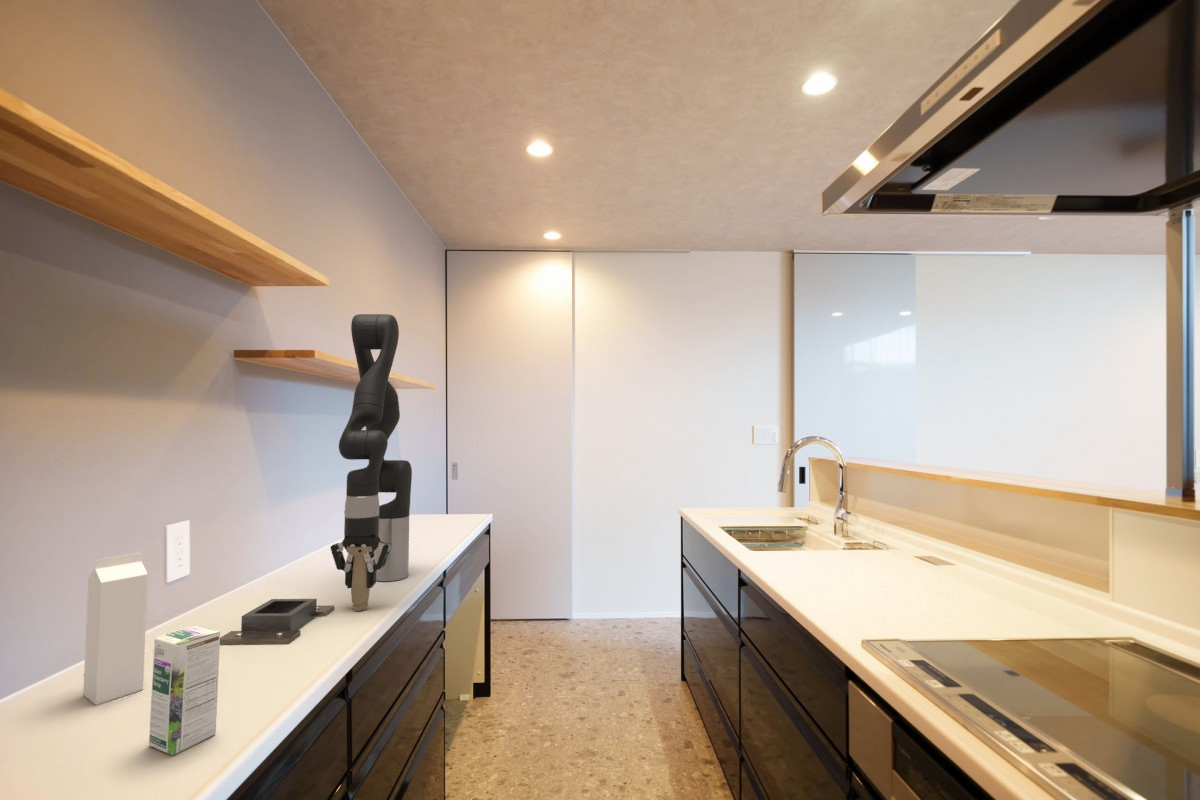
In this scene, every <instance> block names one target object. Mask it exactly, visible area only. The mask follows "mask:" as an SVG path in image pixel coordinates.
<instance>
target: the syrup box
mask: <svg viewBox="0 0 1200 800" xmlns="http://www.w3.org/2000/svg"><path fill="white" fill-rule="evenodd" d="M220 637H221V631H220V630H212V629H209V628H205V627H200V626H198V625H196V626H190V627H185V628H181V629H177V630H173V631H170V632H168V633H165V634H162V635H160V636H158V637H157V636H156V637H155V638H154V642H153V643H154V647H153V661H152V662H153V663H152V664H153V665H152V666H153V667H152V681H151V683H152V684H151V696H150V697H151V699H150V700H151V701H150V715H149V716H150V717H149V733H148V734H149V735H148V738H149V739H148V745H149V747H150V748H151V747H152V748H155V749H157V750H158V751H162V752H164V753H166V754H169V755H170V756H175V755H177V754H179V753H181V752H183V751H185V750H186V749H188V748H191V747H193V746H195V745H197V744H199V743H201V742H203V741H204V740H207V739H208V738H210V737H211V738H212V736H215V735H216V733H217V714H218V712H217V711H218V690H219V673H220V672H219V669H220V667H219V666H220V647H221V645H220Z"/></svg>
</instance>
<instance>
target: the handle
mask: <svg viewBox="0 0 1200 800" xmlns="http://www.w3.org/2000/svg"><path fill="white" fill-rule="evenodd" d="M367 550H368V552H369V553H370V552H372V551H373V550H372V546H367ZM367 550H366V547H361V546H356V547H350V546H347V551H346V552H347V554H348V553H349V554H353V555H354V558H353V559H354V561H353V574H352V584H351V585H352V586H351V588H350V590H351V591H350V592H351V593H350V595H351V603H352V610H354V611H353V612H361V610H362V611H366V610H367V609H368V605H369V598H370V591H371V588H367V576H368V572H369V571H368V567H367V564H366V563H365V559H364V555H363V554H365V553H367ZM375 550H376V549H375ZM375 550H374V551H375Z"/></svg>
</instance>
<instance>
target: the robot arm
mask: <svg viewBox="0 0 1200 800" xmlns="http://www.w3.org/2000/svg"><path fill="white" fill-rule="evenodd" d="M350 330H351V341H352V344H353V350H354V354H355V358H356V364H357V368H358V373H359V381H358V383H357V384H356V386H355V390H354V396H353V401H352V410H351V414H350V416H349V419H348V421H347V423H346V425H345V427H344V429H343V432H342V433H341V436H340V438H339V441H338V442H339V443H338V451H339V453H340V455H341V456H342V458H343V459H346V460H351V461H352V460H353V461H354V460H355V461H356V460H368V465H366V466H365V467H363V468H358V469H354V470H350V471H349V472H348V473H347V474H346V475H347V476H346V494H345V495H346V497H345V503H344V511H343V512H344V513H343V514H344V527H343V529H344V531H343V532H344V533H343V534H344V537H343V540H342V541H341V542H337V543H334V544H332V545H331V546H330V551H331V555H332V558H333V561H334V564H335V567H336V569H337V570H338V571H340V570H341V571H343V572H344V573H345V575H344V577H345V578H344V584H345V586H346V588H347V589H351V586H352V585H351V584H352V574H353V561H354V559H353V558H354V555H353V554H349V553H348V552H347V546H350V547H356V546H361V547H366V550H367V546H372V550H373V551H372V552H370V553H369V552H368V550H367V553H365V554H363V555H364V559H365V563H366V564H367V567H368V571H369V572H368V576H367V588H370V589H372V588H373V587H374V586H375V584H376V583H377V582H396V581H400V580H403V579H406V578H408V576H409V558H410V555H409V553H410V542H409V541H410V510H411V509H410V508H411V492H412V482H413V481H412V479H413V472H412V471H413V469H412V465H411V464H412V463H410V462H409V460H404V459H402V460H401V459H400V460H399V459H395V460H394V459H385V455H386V452H387V449H388V444H389V443H388V442H389V441H388V440H389V438H390V436H391V435H392V433H393V432H394V430H395V429H396V427H397V425H398V423H399V421H400V419H401V418H400V417H401V413H400V403H399V402H400V401H399V396H398V393H397V391H396V389H395V388H394V386H393V384H391V382H389V377H390V374H391V370H392V367H393V363H394V359H395V356H396V352H397V348H398V344H399V335H400V331H399V324H398V321H397V319H396V317H395V316H394V315H393V314H389V313H388V314H386V313H384V314H383V313H375V314H374V313H373V314H372V313H371V314H370V313H369V314H367V313H364V314H363V313H361V314H360V313H359V314H355V315H354V316H353V317H352V319H351V325H350ZM372 350H374V351H375V350H378V351H379V350H380V351H379V353H378V357H377V358H376V360H375V359H374V357H373V353H372ZM364 428H365V429H364ZM379 493H394V494H395V497H394V498H393V499H392V500H391V501H389V502H386V503H384V504H381V505H380V499H379V497H380V496H379ZM344 549H345V551H346V552H347V557H346V558H345V556H344V552H343V551H344ZM375 549H376V550H375ZM374 550H375V551H374Z"/></svg>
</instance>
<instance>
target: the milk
mask: <svg viewBox="0 0 1200 800" xmlns="http://www.w3.org/2000/svg"><path fill="white" fill-rule="evenodd" d="M146 569H147V568H146V567H145V566H144V563H143V555H142V553H141V552H134V553H127V554H121V555H115V556H109V557H103V558H101V557H100V558H97V559H96V560H95V564H94V570H93V571H92V572H91V573H90V574H89V576H88V581H87V582H88V585H87V602H86V603H87V604H86V624H85V625H86V628H85V630H86V631H85V644H84V645H85V647H84V649H85V650H84V667H83V668H84V670H83V672H84V673H83V689H82V690H83V693H82V695H83V696H84V697H86V698H87V699H88V700H89V701H90V702H91V703H93V704H94V705H96V706H98V705H101V704H104V703H107V702H109V701H112V700H116V699H118V698H123V697H124V696H128V695H131V694H135V693H137V692H140V690H141V691H142V690H144V675H145V655H146V653H145V649H146V648H145V647H146V629H147V627H146V626H147V601H148V599H147V598H148V580H149V579H148V578H149V577H148V571H147V570H146Z"/></svg>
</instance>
